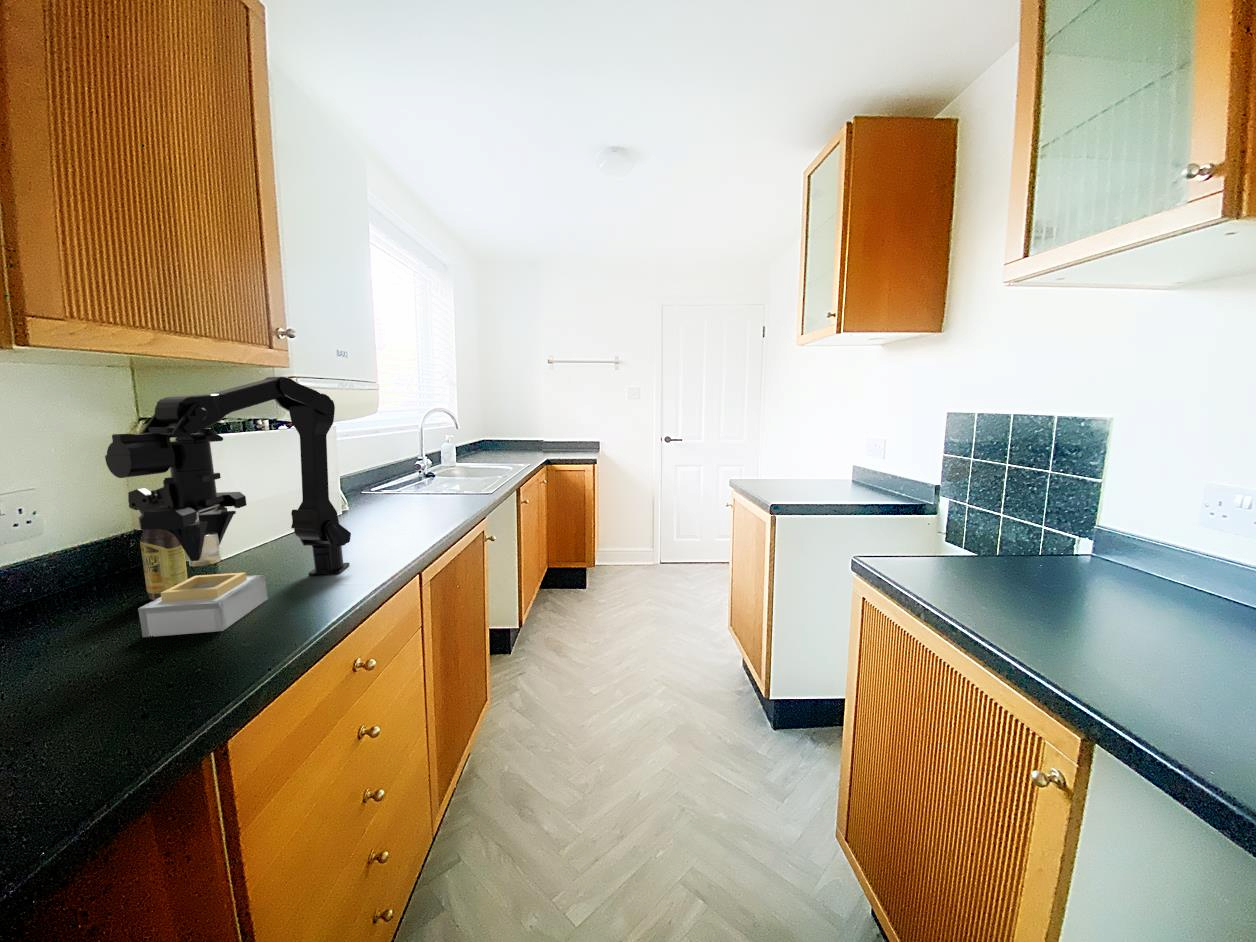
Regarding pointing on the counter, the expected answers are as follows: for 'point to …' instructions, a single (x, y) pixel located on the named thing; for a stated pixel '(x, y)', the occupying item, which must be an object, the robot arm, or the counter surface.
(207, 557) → the silver metal can
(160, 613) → the square frame box
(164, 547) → the sauce bottle
